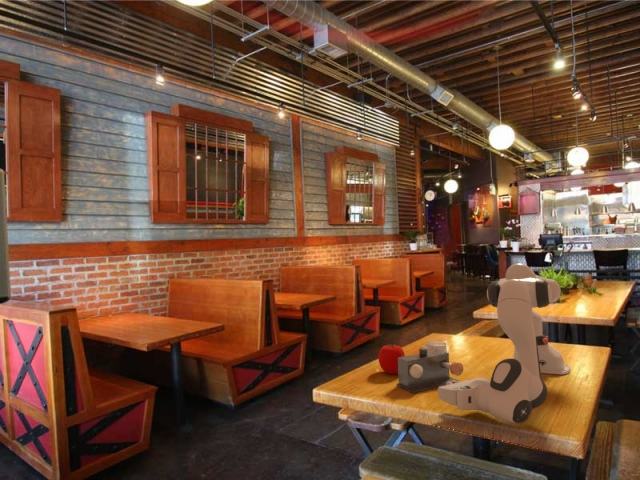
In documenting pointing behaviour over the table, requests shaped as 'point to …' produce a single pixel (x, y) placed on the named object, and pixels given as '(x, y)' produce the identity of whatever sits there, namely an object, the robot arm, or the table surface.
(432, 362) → the mount
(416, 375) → the knob
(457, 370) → the knob
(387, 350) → the tomato
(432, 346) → the cup
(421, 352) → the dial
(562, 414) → the table surface
